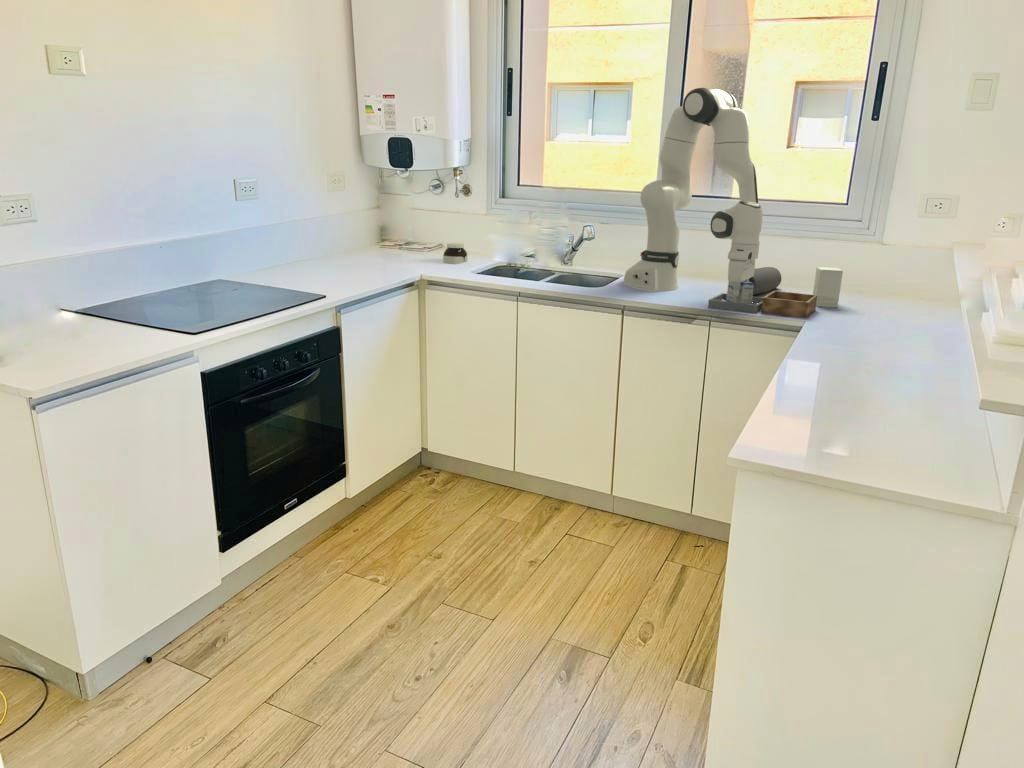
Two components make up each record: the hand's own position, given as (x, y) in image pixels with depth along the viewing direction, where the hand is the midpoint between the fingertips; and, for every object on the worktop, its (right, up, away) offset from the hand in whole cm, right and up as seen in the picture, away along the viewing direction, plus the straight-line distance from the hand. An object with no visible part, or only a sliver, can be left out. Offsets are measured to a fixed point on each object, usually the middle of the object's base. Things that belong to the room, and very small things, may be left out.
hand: (739, 293), depth 252 cm
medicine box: (0, -4, +1) cm, 4 cm away
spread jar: (-101, +16, +61) cm, 119 cm away
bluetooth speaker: (+13, +2, +22) cm, 25 cm away
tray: (0, -4, +1) cm, 4 cm away
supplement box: (+31, -3, +7) cm, 32 cm away
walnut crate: (+14, -6, -5) cm, 17 cm away
